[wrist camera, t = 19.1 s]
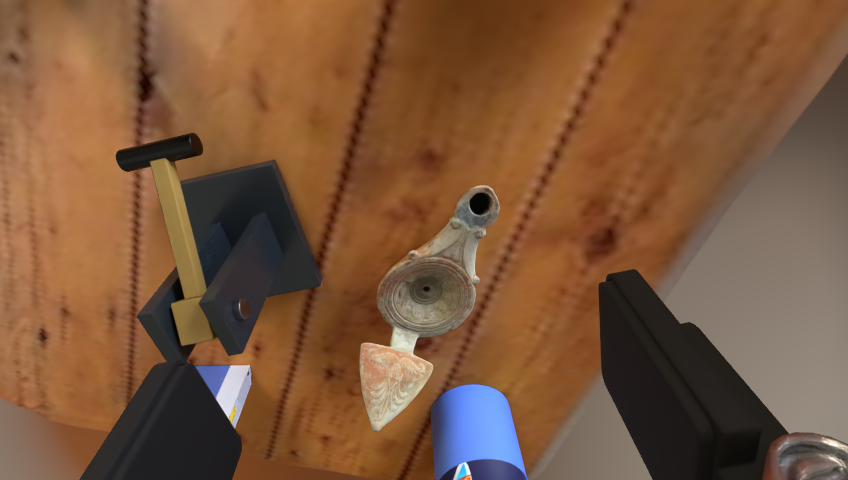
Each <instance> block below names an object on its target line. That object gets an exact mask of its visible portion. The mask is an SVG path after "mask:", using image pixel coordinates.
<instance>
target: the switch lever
mask: <svg viewBox="0 0 848 480" xmlns="http://www.w3.org/2000/svg"><path fill="white" fill-rule="evenodd" d="M202 153H203V146H202V143H201V140H200V139H199V137H198V136H197V135H196V134H195V133H190V134H186V135H181V136H177V137H173V138H169V139H164V140H160V141H156V142H151V143H147V144H143V145H139V146H134V147H130V148H126V149H122V150H119V151H118V152H117V153H116V160H117V163H118V165H119V166H120V168H121V169H122V170H124V171H126V172H130V171H134V170H139V169H143V168H147V167H151V168H152V172H153V176H154V180H155V184H156V188H157V192H158V196H159V200H160V204H161V207H162V211H163V215H164V219H165V223H166V227H167V231H168V235H169V239H170V243H171V247H172V250H173V254H174V258H175V262H176V266H177V270H178V274H179V278H180V282H181V286H182V290H183V294H184V297H185V299H183V300H180V301H178V302H175V303H172V304H171V307H172V311H173V315H174V319H175V323H176V327H177V330H178V334H179V338H180V342H181V345H182V346H184V345H189V344H194V343H199V342H204V341H209V340H213V339H215V338H217V335H216V333H215V331H214V330H213V328H212V326H211V325H210V323H209V321H208V319H207V318H206V316H205V314H204V312H203V311H202V309H201V307H200V305H199V301H200V300H201V298H202V297H203V295H204V294H205V292H206V290H207V288H206V284H205V280H204V276H203V272H202V268H201V264H200V260H199V256H198V252H197V248H196V244H195V240H194V236H193V232H192V228H191V224H190V220H189V217H188V213H187V209H186V205H185V201H184V197H183V193H182V189H181V185H180V181H179V177H178V173H177V169H176V165H175V161H178V160H182V159H186V158H191V157H195V156H199V155H201V154H202Z"/></svg>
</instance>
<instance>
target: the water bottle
mask: <svg viewBox="0 0 848 480" xmlns="http://www.w3.org/2000/svg"><path fill="white" fill-rule="evenodd" d="M431 427H432V443H433V458H434V472H435V480H527V476H526V472H525V468H524V464H523V460H522V455H521V451H520V447H519V443H518V439H517V435H516V431H515V427H514V423H513V419H512V415H511V411H510V407H509V404H508V401H507V399H506V398H505V396H504V395H503V394H502V393H500V392H499V391H497V390H496V389H494V388H491V387H488V386H484V385H463V386H459V387H455V388H453V389H451V390H448V391H447V392H445V393H444V394H442V395H441V396H440V397H439V398H438V399H437V400H436V401H435V403H434V404H433V407H432V409H431Z"/></svg>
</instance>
